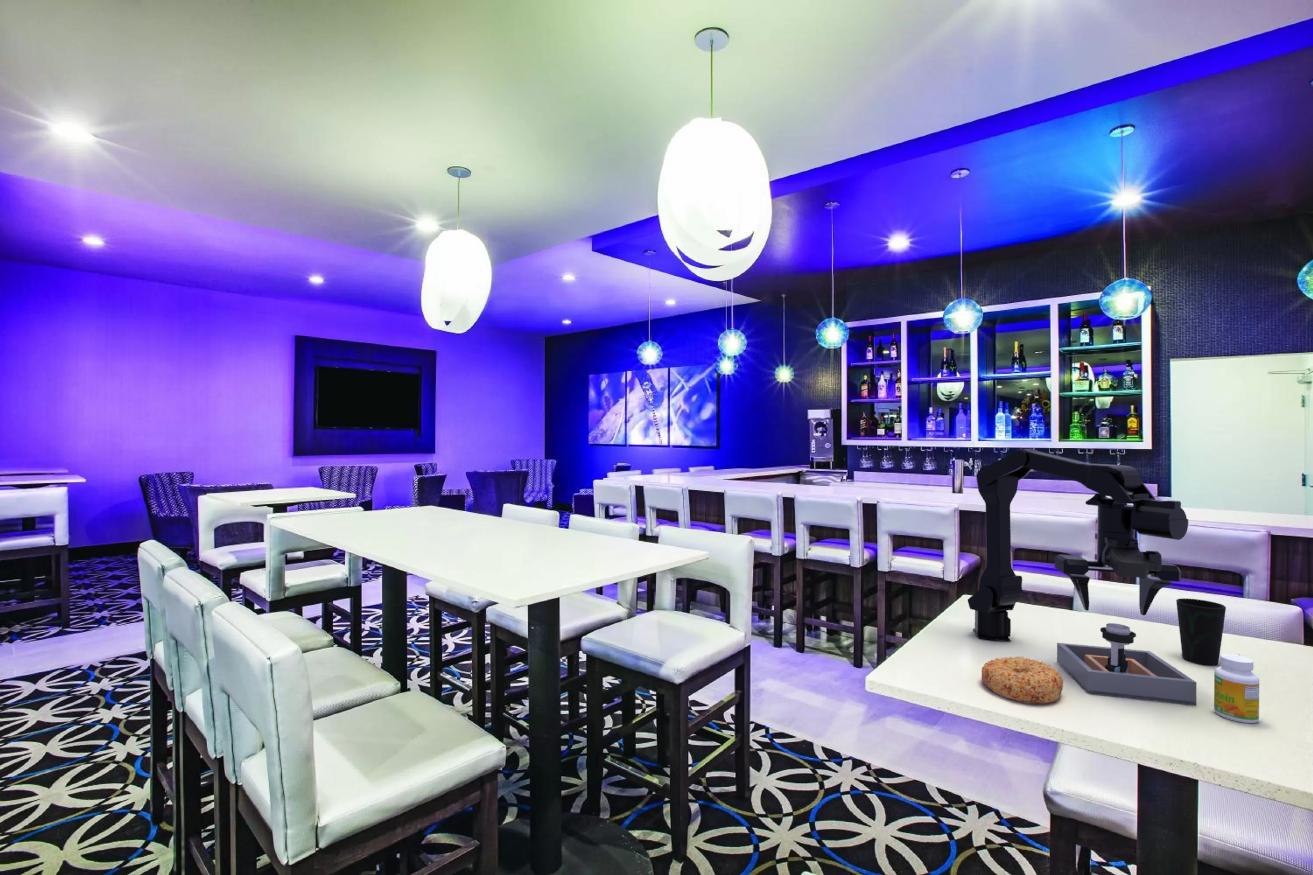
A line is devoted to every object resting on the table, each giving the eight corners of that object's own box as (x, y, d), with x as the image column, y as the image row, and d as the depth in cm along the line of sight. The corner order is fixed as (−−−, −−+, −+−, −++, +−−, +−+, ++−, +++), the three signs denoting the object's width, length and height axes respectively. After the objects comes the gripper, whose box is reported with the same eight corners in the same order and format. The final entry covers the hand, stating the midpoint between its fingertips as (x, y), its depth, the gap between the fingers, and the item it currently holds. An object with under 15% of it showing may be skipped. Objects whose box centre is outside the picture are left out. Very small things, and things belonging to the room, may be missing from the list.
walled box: (1088, 693, 108) (1088, 671, 108) (1056, 662, 124) (1057, 642, 124) (1196, 705, 104) (1196, 682, 104) (1149, 671, 119) (1149, 650, 119)
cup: (1213, 656, 127) (1213, 600, 127) (1234, 669, 120) (1234, 609, 120) (1168, 652, 130) (1169, 596, 130) (1186, 664, 123) (1186, 606, 123)
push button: (1109, 670, 118) (1110, 619, 118) (1143, 679, 113) (1143, 626, 113) (1095, 677, 114) (1095, 624, 114) (1128, 687, 110) (1129, 632, 110)
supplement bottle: (1204, 709, 102) (1205, 652, 102) (1233, 708, 103) (1234, 651, 103) (1238, 724, 97) (1238, 664, 97) (1268, 723, 97) (1269, 663, 97)
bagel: (1056, 683, 113) (1056, 657, 113) (1071, 713, 101) (1071, 683, 101) (978, 672, 118) (978, 646, 118) (984, 699, 106) (984, 670, 106)
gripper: (1075, 534, 110) (1073, 619, 110) (1199, 541, 105) (1197, 630, 105) (1054, 525, 121) (1052, 603, 121) (1165, 531, 116) (1164, 612, 116)
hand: (1114, 612), depth 115 cm, fingers open, 9 cm apart
